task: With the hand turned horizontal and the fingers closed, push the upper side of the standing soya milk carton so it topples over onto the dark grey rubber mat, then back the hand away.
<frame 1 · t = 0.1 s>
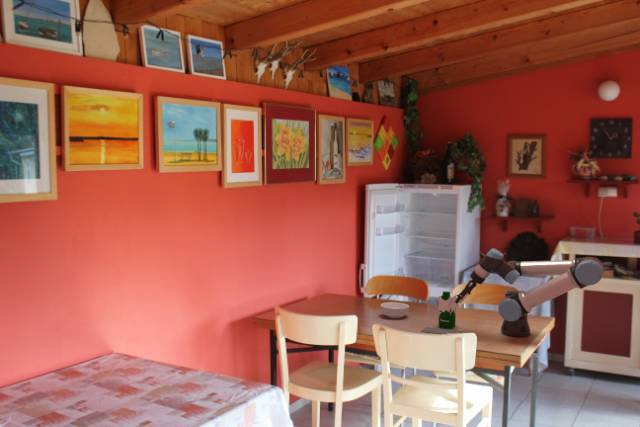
hand: (455, 304, 338), 15 cm above the table, tool tilted 35°, fingers open, 13 cm apart
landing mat: (441, 331, 341), on the table
cereal bowl: (394, 317, 374), on the table
soya milk: (447, 327, 350), on the table
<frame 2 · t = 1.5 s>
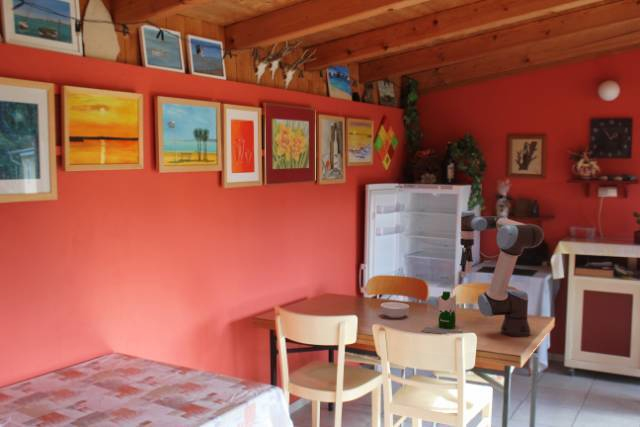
hand: (466, 275, 362), 27 cm above the table, tool pointing down, fingers open, 13 cm apart
nothing on the table moved.
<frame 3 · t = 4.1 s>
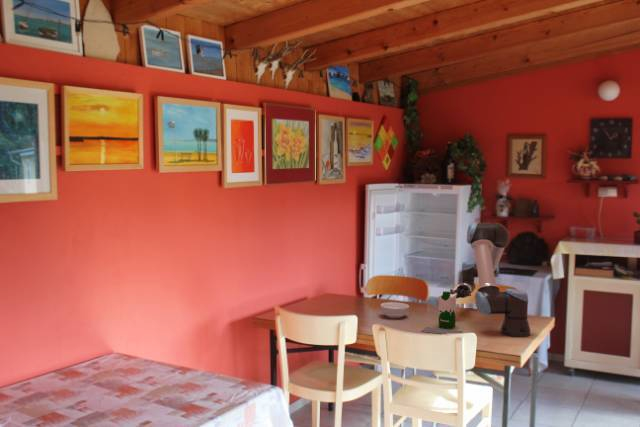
hand: (453, 297, 360), 14 cm above the table, tool horizontal, fingers closed
nothing on the table moved.
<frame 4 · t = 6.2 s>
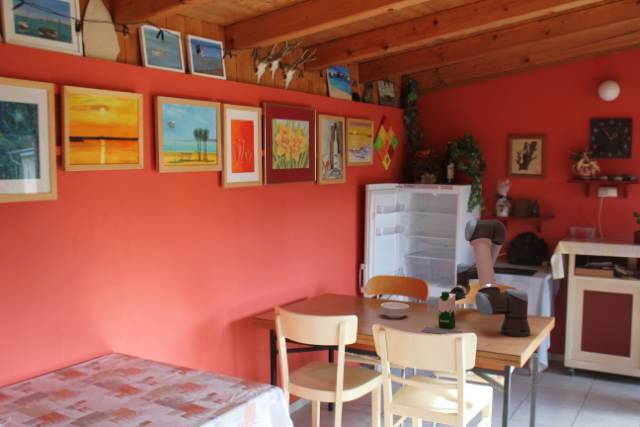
hand: (447, 300, 353), 14 cm above the table, tool horizontal, fingers closed
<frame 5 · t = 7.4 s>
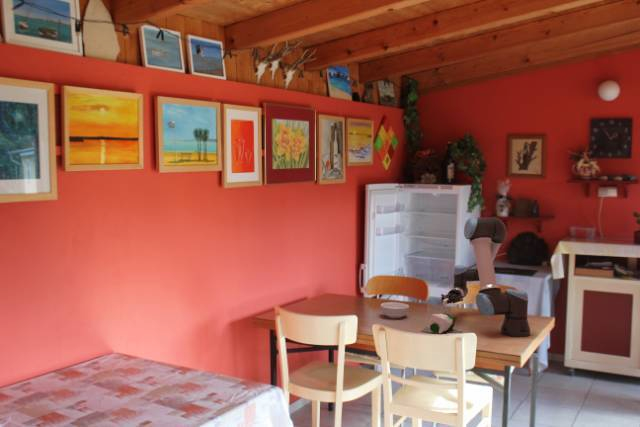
hand: (444, 303, 347), 14 cm above the table, tool horizontal, fingers closed
soya milk: (449, 321, 347), point 4 cm above the table
everything else where it was.
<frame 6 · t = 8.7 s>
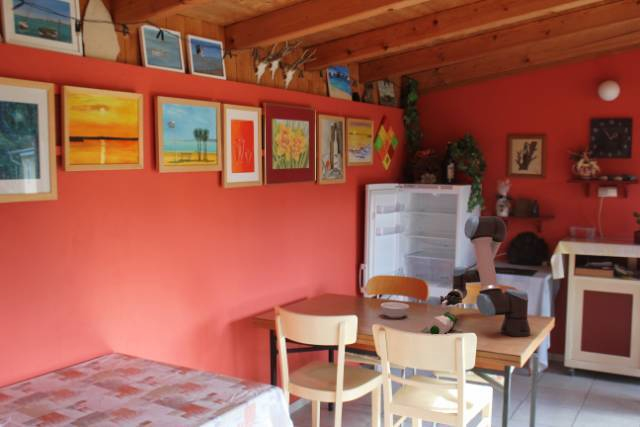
hand: (443, 305, 342), 14 cm above the table, tool horizontal, fingers closed
soya milk: (450, 320, 346), point 5 cm above the table, touching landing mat
everything else where it was.
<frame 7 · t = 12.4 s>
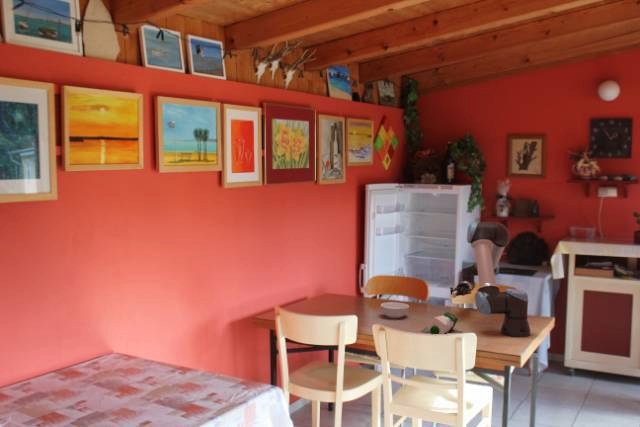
hand: (453, 295, 360), 15 cm above the table, tool horizontal, fingers closed
nothing on the table moved.
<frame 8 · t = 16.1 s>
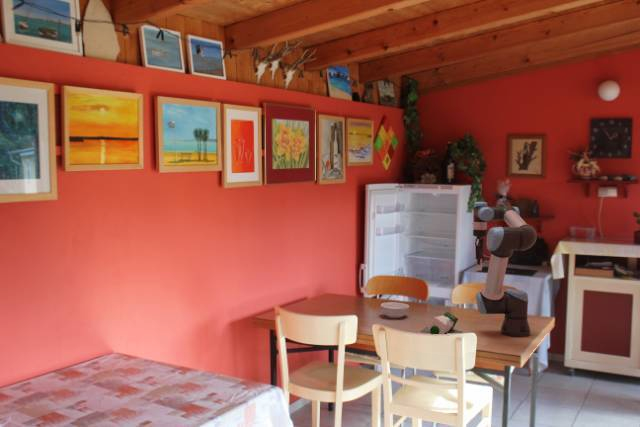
hand: (479, 270, 362), 29 cm above the table, tool pointing down, fingers closed
nothing on the table moved.
at the end: soya milk tilted 89°; soya milk inside the target area (9.1 cm from its centre), point 4.8 cm above the table; the gripper is holding nothing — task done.
